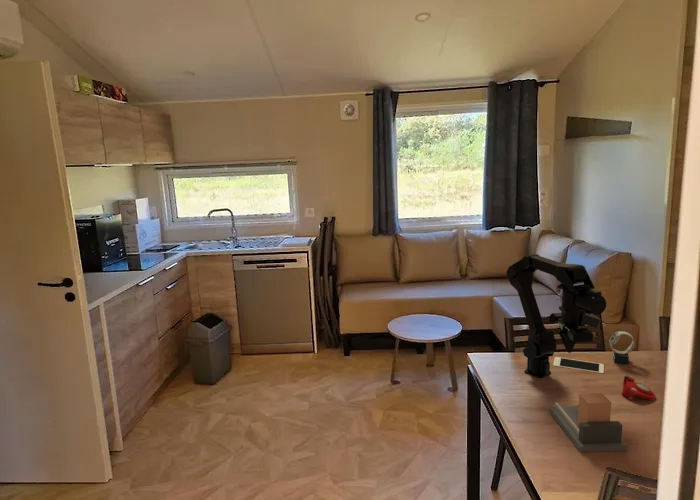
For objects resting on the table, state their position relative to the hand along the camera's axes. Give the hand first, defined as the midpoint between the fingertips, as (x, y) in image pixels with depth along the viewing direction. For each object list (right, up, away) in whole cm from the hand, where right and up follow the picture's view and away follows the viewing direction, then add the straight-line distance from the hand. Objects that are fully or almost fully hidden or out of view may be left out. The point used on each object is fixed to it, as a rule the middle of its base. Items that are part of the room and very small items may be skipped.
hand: (569, 352), depth 153 cm
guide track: (-4, -17, -19) cm, 26 cm away
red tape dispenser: (+21, -13, 0) cm, 25 cm away
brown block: (-4, -17, -23) cm, 29 cm away
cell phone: (+12, -9, +20) cm, 25 cm away
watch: (+28, -8, +22) cm, 36 cm away
